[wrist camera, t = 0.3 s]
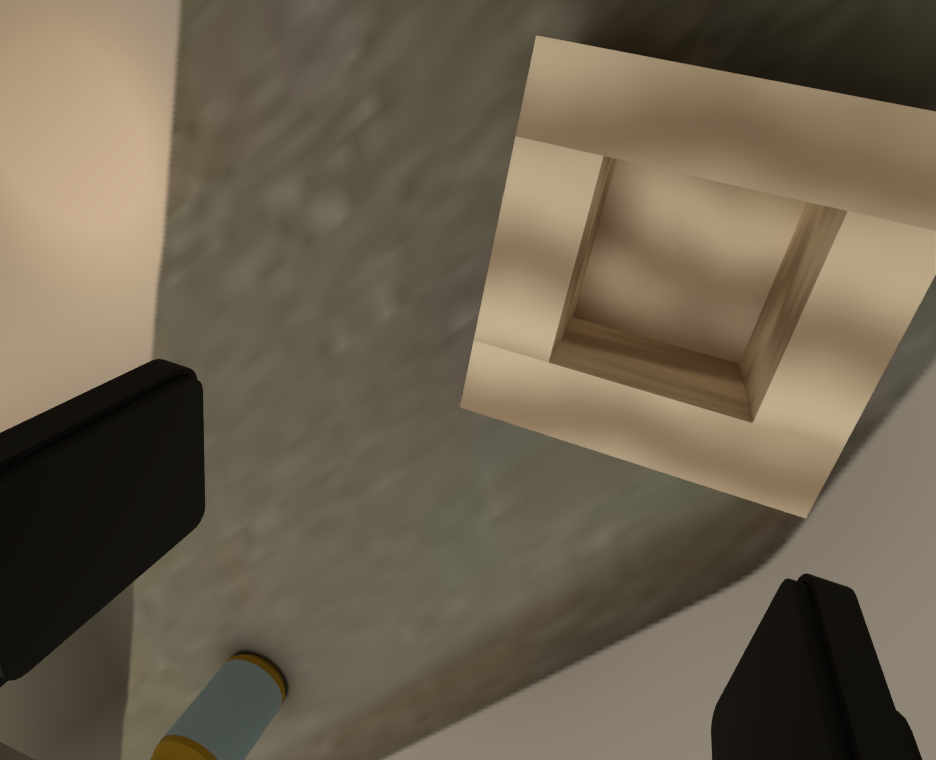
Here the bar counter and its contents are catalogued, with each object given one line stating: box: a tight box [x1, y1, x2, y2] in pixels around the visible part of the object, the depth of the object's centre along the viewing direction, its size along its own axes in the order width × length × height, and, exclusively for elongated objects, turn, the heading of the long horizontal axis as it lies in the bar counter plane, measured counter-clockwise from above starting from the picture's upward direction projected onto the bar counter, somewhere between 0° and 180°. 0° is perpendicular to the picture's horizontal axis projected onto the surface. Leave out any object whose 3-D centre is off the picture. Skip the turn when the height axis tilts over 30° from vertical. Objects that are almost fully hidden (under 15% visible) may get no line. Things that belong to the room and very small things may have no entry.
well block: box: [460, 36, 936, 518], centre depth 32 cm, size 18×18×9 cm
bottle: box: [151, 654, 285, 760], centre depth 57 cm, size 7×7×15 cm
